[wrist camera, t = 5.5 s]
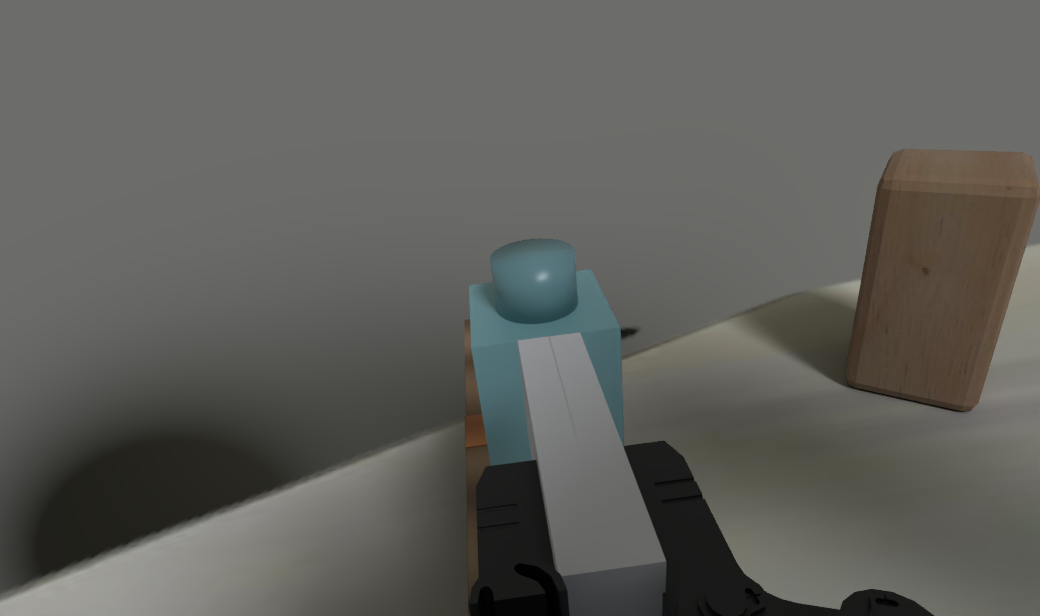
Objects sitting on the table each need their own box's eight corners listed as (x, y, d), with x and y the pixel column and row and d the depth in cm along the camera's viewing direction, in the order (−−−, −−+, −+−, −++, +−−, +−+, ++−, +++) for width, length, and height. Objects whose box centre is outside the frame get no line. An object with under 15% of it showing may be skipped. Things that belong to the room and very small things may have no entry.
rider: (629, 611, 26) (618, 272, 19) (517, 628, 26) (462, 293, 19) (604, 524, 31) (588, 222, 23) (509, 538, 30) (461, 239, 23)
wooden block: (841, 389, 55) (878, 176, 46) (857, 338, 62) (892, 146, 53) (975, 419, 49) (1046, 184, 40) (976, 360, 56) (1037, 149, 47)
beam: (688, 788, 29) (695, 637, 23) (502, 818, 28) (467, 673, 23) (578, 414, 55) (570, 304, 50) (482, 428, 55) (463, 319, 50)
